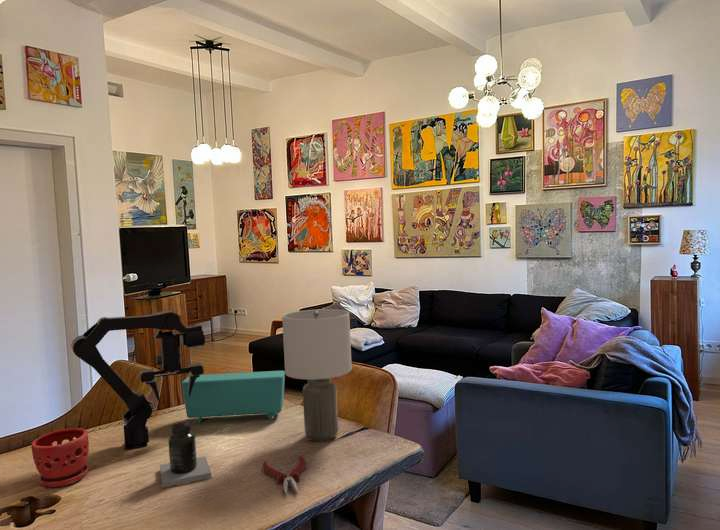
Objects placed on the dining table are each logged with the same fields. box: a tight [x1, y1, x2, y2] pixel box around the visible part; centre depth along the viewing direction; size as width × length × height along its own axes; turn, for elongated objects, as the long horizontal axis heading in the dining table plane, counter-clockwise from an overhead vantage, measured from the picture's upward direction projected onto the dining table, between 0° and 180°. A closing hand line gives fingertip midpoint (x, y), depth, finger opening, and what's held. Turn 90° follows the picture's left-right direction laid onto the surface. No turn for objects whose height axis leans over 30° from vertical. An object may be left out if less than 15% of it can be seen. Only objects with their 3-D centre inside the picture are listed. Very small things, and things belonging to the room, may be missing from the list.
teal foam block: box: [181, 370, 286, 424], centre depth 190 cm, size 34×10×15 cm, turn 93°
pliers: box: [262, 455, 307, 496], centre depth 140 cm, size 12×20×3 cm, turn 14°
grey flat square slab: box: [159, 456, 212, 488], centre depth 146 cm, size 12×12×2 cm
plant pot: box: [31, 427, 90, 488], centre depth 146 cm, size 13×13×12 cm
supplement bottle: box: [167, 421, 198, 474], centre depth 146 cm, size 7×7×12 cm
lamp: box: [281, 308, 353, 442], centre depth 168 cm, size 20×20×39 cm
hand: (174, 398), depth 175 cm, fingers open, 9 cm apart
